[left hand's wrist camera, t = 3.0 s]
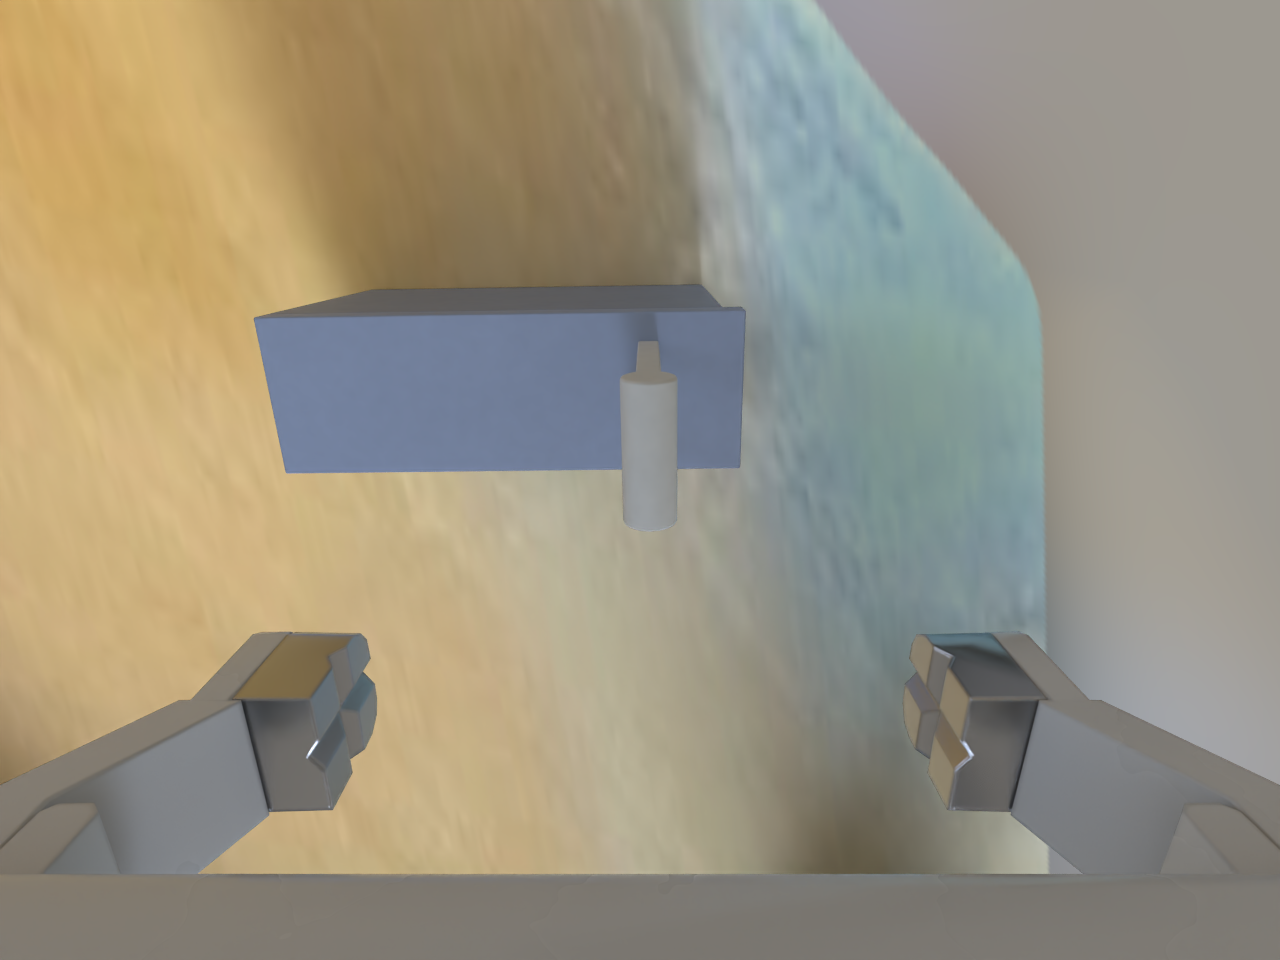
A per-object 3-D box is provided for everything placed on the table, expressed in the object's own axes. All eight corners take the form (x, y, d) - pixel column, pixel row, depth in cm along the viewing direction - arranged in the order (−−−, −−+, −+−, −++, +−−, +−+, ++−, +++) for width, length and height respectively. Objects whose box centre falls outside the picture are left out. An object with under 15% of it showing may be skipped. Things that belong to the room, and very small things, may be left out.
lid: (742, 306, 24) (787, 345, 16) (736, 459, 26) (775, 559, 18) (267, 313, 24) (89, 355, 17) (297, 465, 26) (151, 566, 18)
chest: (702, 284, 33) (722, 306, 24) (700, 399, 35) (719, 459, 26) (370, 289, 33) (268, 313, 24) (387, 403, 35) (298, 464, 26)
